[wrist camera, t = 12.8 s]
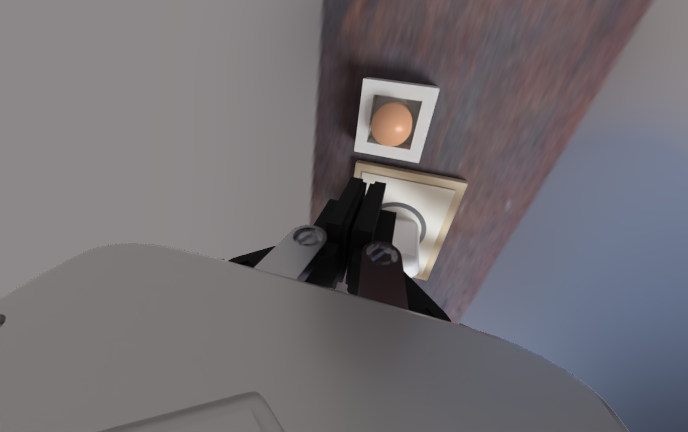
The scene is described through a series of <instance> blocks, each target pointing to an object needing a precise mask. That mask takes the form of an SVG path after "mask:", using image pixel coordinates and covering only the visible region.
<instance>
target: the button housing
mask: <svg viewBox="0 0 688 432" xmlns="http://www.w3.org/2000/svg"><path fill="white" fill-rule="evenodd" d="M439 90H440V88H439V87H438V86H433V85H426V84H418V83H411V82H403V81H396V80H388V79H381V78H373V77H367V78H363V85H362V93H361V101H360V109H359V117H358V125H357V133H356V141H355V149H354V151H356V152H361V153H367V154H372V155H377V156H383V157H388V158H394V159H399V160H405V161H410V162H415V163H419V160H420V157H421V153H422V150H423V146H424V143H425V139H426V135H427V132H428V128H429V125H430V121H431V118H432V114H433V111H434V107H435V104H436V100H437V97H438V93H439ZM391 101H398V102H401V103H403V104H405V105H406V106H407V107H408V108H409V109H410V111H411V113H412V118H413V121H412V129H411V132H410V135H409V136H408V138H407V139H406V140H405V141H404V142H403V143H401V144H399V145H397V146H392V147H389V146H384V145H382V144H380V143H379V142H378V141H377V140H376V139H375V138H374V136H373V134H372V130H371V123H372V119H373V117H374V115H375V113H376V112H377V111H378V110H379V109H380V108H381V107H382V106H383V105H384V104H386V103H388V102H391Z"/></svg>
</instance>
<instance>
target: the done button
mask: <svg viewBox="0 0 688 432" xmlns="http://www.w3.org/2000/svg"><path fill="white" fill-rule="evenodd" d="M412 121H413V118H412V113H411V111H410V109H409V108H408V107H407V106H406V105H405V104H403V103H401V102H398V101H391V102H388V103H386V104H384V105H383V106H382V107H381V108H380V109H379V110H378V111H377V112H376V113H375V115H374V117H373V119H372V123H371V130H372V134H373V136H374V138H375V139H376V140H377V141H378V142H379V143H380V144H382V145H384V146H389V147H392V146H397V145H399V144H401V143H403V142H404V141H405V140H406V139H407V138H408V136H409V135H410V132H411V129H412Z"/></svg>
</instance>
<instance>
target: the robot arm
mask: <svg viewBox="0 0 688 432" xmlns="http://www.w3.org/2000/svg"><path fill="white" fill-rule="evenodd" d="M366 187H367V183H366V182H363V179H361V178H356V177H351V179H350V181H349V183H348V185H347V186H346V188H345V190H344V192H343V193H342V195H341V197H340V199H339V200H334V199H330V200H329V201H328V203H327V204H326V206H325V208H324V209H323V211H322V212H321V214H320V216H319V217H318V219H317V220H316V222H315V223H314V225H303V226H299V227H297V228H295V229H294V230H292V231H291V232H290V233H289V234H288V235H287V236H286V237H285V238H284V239H283V240H282V241H281V242H280V243H279V244H278V245H277V246H273V247H270V248H267V249H263V250H260V251H256V252H252V253H249V254H246V255H242V256H239V257H236V258H233V259H231V260H229V261H225V260H224V259H218V258H214V257H210V256H206V255H202V254H198V253H193V252H189V251H185V250H180V249H176V248H171V247H166V246H160V245H153V244H137V243H134V244H133V243H132V244H115V245H107V246H101V247H97V248H93V249H90V250H88V251H85V252H83V253H81V254H79V255H77V256H75V257H73V258H71V259H69V260H67V261H65V262H63V263H61V264H59V265H57V266H55V267H53V268H52V269H50V270H48V271H46V272H44V273H42V274H41V275H39V276H37V277H35V278H33V279H32V280H30V281H28V282H26V283H25V284H23V285H21V286H20V287H18V288H16V289H14V290H13V291H11V292H9V293H8V294H6V295H4V296H2V297H1V298H0V432H629V431H628V429H627V428H626V427H625V425H624V424H623V422H622V421H621V420H620V419H619V417H618V416H617V415H616V413H615V412H614V411H613V410H612V409H611V407H610V406H609V405H608V404H607V403H606V402H605V401H604V399H603V398H601V397H600V396H599V395H598V394H597V393H596V392H595V391H594V390H593V389H592V388H591V387H589V386H588V385H587V384H585V383H584V382H583V381H581V380H580V379H579V378H577V377H576V376H574V375H573V374H571V373H570V372H568V371H567V370H565V369H564V368H562V367H560V366H558V365H557V364H555V363H553V362H552V361H550V360H548V359H546V358H545V357H543V356H541V355H539V354H537V353H535V352H533V351H531V350H528V349H526V348H524V347H522V346H520V345H518V344H515V343H512V342H510V341H507V340H505V339H502V338H500V337H497V336H494V335H491V334H487V333H484V332H481V331H478V330H475V329H472V328H470V327H468V326H465V325H463V324H461V323H460V324H456V323H452V322H451V320H450V319H449V317H448V316H447V315H446V313H445V312H444V311H443V310H442V309H441V308H440V307H439V306H438V305H437V304H436V303H435V302H434V301H433V300H432V299H431V298H430V297H429V296H428V295H427V294H426V293H425V292H424V291H423V290H422V289H421V288H420V287H419V286H418V285H417V284H416V283H415V282H414V281H413V280H412V279H411V278H410V277H409V276H408V275H407V274H406V273H405V272H404V269H403V261H402V255H401V252H400V251H399V250H398V249H397V248H396V247H395V246H394V245H392V242H393V235H394V228H395V222H396V215H397V212H392V211H387V210H383V209H381V208H382V203H383V198H384V193H385V188H386V183H382V182H377V181H375V183H374V184H371V183H370V185H369V188H368V190H367V193H366ZM365 194H366V195H365ZM346 270H347V275H346V283H345V284H348V288H347V291H348V293H349V294H348V293H344V292H341V291H337V290H333V289H335V288H336V285H337V283H338V282H340V283H342V281H343V279H344V276H345V273H346ZM330 288H333V289H330Z"/></svg>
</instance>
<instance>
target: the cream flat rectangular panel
mask: <svg viewBox="0 0 688 432" xmlns="http://www.w3.org/2000/svg"><path fill="white" fill-rule="evenodd" d="M354 177H356V178H361V179H363V182H366V183H367V187H366V193H367V190H368V188H369V185H370V183H371V184H374V183H375V181H377V182H382V183H386V188H385V193H384V198H383V203H382V208H381V209H383V210H387V211H392V212H397V215H396V219H402V220H409V221H413V222H415V223H417V224H418V227H419V272H418V274H417V275H415V276H414V277H415V278H419V279H423V280H426V281H427V279H428V277H429V274H430V272H431V270H432V267H433V265H434V263H435V260H436V258H437V256H438V253H439V251H440V249H441V246H442V244H443V241H444V239H445V237H446V234H447V232H448V230H449V227H450V225H451V223H452V220H453V218H454V215H455V213H456V211H457V208H458V206H459V204H460V201H461V199H462V197H463V194H464V192H465V190H466V187H467V185H468V183H467V181H466V180H461V179H456V178H451V177H446V176H440V175H435V174H430V173H425V172H419V171H414V170H409V169H404V168H398V167H393V166H388V165H383V164H377V163H372V162H367V161H362V160H357V161H356V165H355V173H354ZM365 195H366V194H365Z"/></svg>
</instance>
